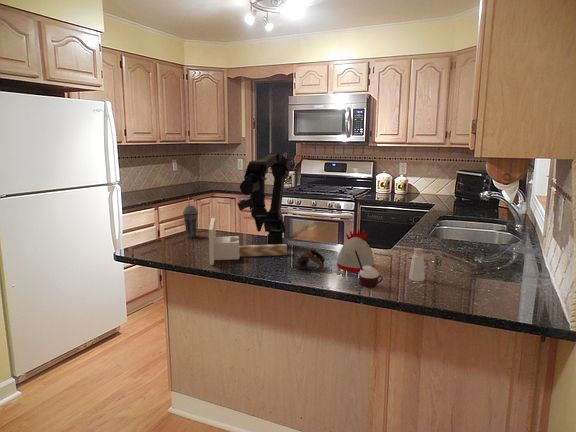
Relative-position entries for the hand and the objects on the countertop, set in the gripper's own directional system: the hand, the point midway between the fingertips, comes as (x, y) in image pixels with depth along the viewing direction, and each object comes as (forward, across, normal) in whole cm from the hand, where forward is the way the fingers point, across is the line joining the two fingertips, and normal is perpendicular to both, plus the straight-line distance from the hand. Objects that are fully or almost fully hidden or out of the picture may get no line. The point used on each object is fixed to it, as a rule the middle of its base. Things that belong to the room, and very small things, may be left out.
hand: (258, 229), depth 174 cm
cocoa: (+12, +42, +34) cm, 55 cm away
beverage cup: (+11, -38, -31) cm, 50 cm away
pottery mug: (+12, +22, +18) cm, 31 cm away
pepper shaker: (+11, +38, +53) cm, 66 cm away
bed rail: (+11, 0, +1) cm, 11 cm away
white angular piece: (+11, 0, -13) cm, 17 cm away
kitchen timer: (+11, +21, +36) cm, 43 cm away
